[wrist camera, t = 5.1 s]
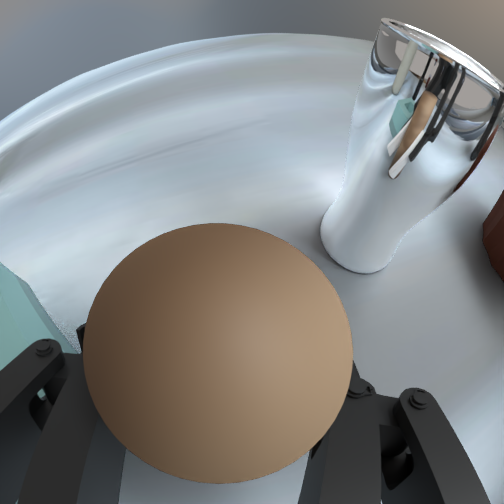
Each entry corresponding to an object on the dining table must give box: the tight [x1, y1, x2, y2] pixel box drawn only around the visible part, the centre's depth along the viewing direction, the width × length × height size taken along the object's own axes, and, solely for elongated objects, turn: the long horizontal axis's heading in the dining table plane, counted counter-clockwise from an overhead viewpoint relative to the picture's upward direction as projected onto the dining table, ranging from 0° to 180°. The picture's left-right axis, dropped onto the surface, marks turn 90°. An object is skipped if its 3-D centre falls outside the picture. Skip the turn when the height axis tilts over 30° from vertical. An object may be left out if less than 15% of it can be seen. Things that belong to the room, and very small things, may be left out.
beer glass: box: [320, 18, 504, 274], centre depth 13 cm, size 7×7×15 cm
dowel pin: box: [83, 223, 353, 484], centre depth 9 cm, size 4×4×12 cm
